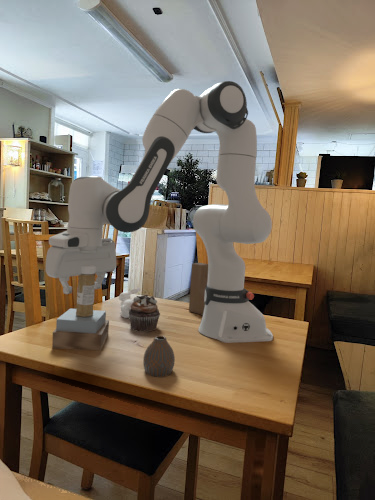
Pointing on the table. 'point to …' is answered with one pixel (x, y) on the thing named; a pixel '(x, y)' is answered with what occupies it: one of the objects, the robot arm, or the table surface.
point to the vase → (159, 358)
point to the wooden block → (198, 287)
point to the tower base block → (81, 339)
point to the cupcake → (144, 314)
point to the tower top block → (80, 322)
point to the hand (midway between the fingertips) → (82, 290)
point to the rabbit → (126, 302)
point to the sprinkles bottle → (86, 291)
